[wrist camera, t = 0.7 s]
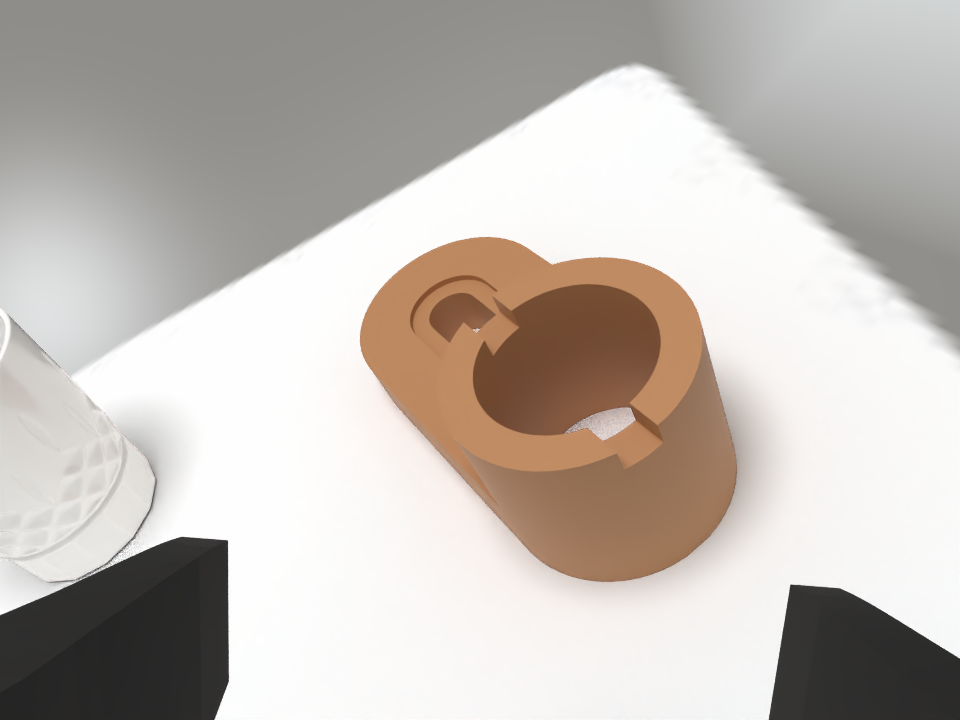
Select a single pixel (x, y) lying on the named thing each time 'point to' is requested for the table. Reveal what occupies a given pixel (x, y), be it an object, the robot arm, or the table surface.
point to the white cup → (61, 468)
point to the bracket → (561, 399)
